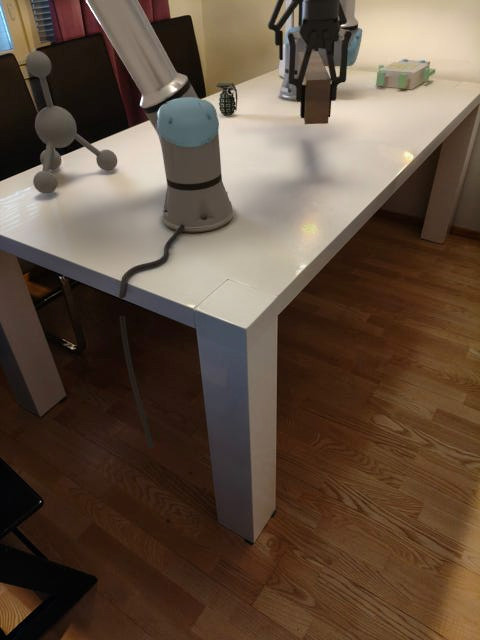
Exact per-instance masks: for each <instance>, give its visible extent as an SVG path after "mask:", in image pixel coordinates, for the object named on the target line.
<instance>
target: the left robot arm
mask: <svg viewBox="0 0 480 640" xmlns="http://www.w3.org/2000/svg"><path fill="white" fill-rule="evenodd" d="M85 2H86V4H87V5H88V6H89V8H90V10H91V12H92V13H93V15H94V17H95V18H96V21H98V23H99V25H100V26H101V29H102V30H103V31H104V34H105V35H106V37H107V38H108V40H109V42H110V43H111V45H112V47H113V48H114V50H115V51H116V54H117V55H118V57H119V58H120V60H121V61H122V63H123V65H124V66H125V68H126V70H127V72H128V74H129V75H130V76H131V79H132V81H134V84H135V85H136V87H137V88H138V90H139V91H140V93H141V99H140V103H139V106H140V107H141V109H142V111H143V112H144V114H145V115H146V117H147V119H148V120H149V122H150V124H151V125H152V127H153V128H154V130H155V132H156V134H157V136H158V139H159V143H160V148H161V153H162V159H163V168H164V173H165V180H166V190H165V191H166V192H165V196H164V203H163V207H162V218H163V222H164V224H165V226H167V227H168V228H169V229H171V230H173V231H174V232H173V234H171V237H170V238H169V239H168V240H167V241H166V243H165V245H164V246H163V255H162V256H161V257H160V258H159V259H156V260H152V261H149V262H145V263H141V264H138V265H135V266H133V267H131V268H129V269H128V270H127V271H126V272H124V274H123V275H122V277H121V281H120V288H119V293H118V294H119V295H118V297H119V299H124V298H125V297H126V290H127V282H128V278H129V277H130V276H132V275H133V274H135V273H137V272H138V271H139V272H140V271H141V270H146V269H150V268H154V267H157V266H160V265H162V264H163V263H165V261H167V259H168V258H169V256H170V255H169V254H170V247H171V246H172V244H173V243H174V242H175V240H176V239H177V238H178V236H180V234H181V233H190V234H191V233H192V234H193V233H194V234H195V233H196V234H197V233H205V232H206V233H207V232H210V231H215V230H216V229H220V228H222V227H224V226H226V225H227V224H228V223H230V221H231V220H232V218H233V216H234V212H233V211H234V210H233V205H232V201H231V200H230V197H229V194H228V192H229V191H227V190H226V187H225V184H224V182H223V175H222V174H223V173H222V164H221V163H222V161H221V147H220V146H221V145H220V134H219V128H220V122H219V118H218V114H217V109H216V107H215V105H214V104H213V103H211V102H210V101H208V100H207V99H202V98H201V97H200V98H199V97H198V95H197V93H196V91H195V89H194V87H193V85H192V83H191V82H190V80H189V78H188V76H187V75H185V74H182V73H180V72H177V70H176V69H175V67H174V65H173V63H172V61H171V60H170V57H169V56H168V54H167V52H166V50H165V48H164V46H163V45H162V42H161V41H160V39H159V37H158V35H157V34H156V32H155V29H154V28H153V25H151V22H150V20H149V18H148V16H147V14H146V13H145V11H144V9H143V7H142V5H141V4H140V2H139V0H85ZM338 13H339V0H303V1H302V23H301V26H300V28H299V30H297V31H294V32H289V33H288V35H287V36H288V40H289V44H290V51H289V74H288V81H289V84H292V85H295V86H296V101H295V102H297V103H300V102H301V104H300V105H299V106H300V109H299V116H300V119H304V107H305V85H302V83H303V80H304V76H305V73H306V69H307V66H308V62H309V59H310V55H311V53H312V49H317V48H321V49H325V52H326V57H327V62H328V66H327V68H328V74H329V77H330V79H331V86H330V102H329V117H328V118H331V113H332V102H335V101H336V100H337V94H338V86H339V85H340V84H343V83H346V81H347V73H348V71H347V70H348V66H347V56H348V43H349V41H350V38H351V35H352V33H351V32H350V30H344V29H341V28H340V26H339V23H338ZM338 34H339V35H340V40H341V54H340V66H339V73H338V74H339V75H338V76H337V71H336V66H335V65H334V59H333V54H332V47H331V43H332V42H333V40H334V39H335V37H336V36H337V35H338ZM300 35H301V37H302V38H303V40H304V41H305V43H306V47H305V52H304V55H303V59H302V63H301V66H300V70H299V73H298V77H297V78H294V74H295V54H296V44H295V43H297V42H298V37H299V36H300ZM118 317H119V326H120V333H121V334H120V335H121V340H122V346H123V352H124V359H125V363H126V367H127V371H128V375H129V379H130V384H131V386H132V392H133V395H134V398H135V402H136V405H137V408H138V409H137V410H138V413H139V417H140V419H141V423H142V428H143V431H144V434H145V438H146V442H147V447H148V449H149V450H152V449H153V448H154V445H153V440H152V436H151V432H150V428H149V425H148V421H147V420H148V419H147V417H146V414H145V409H144V406H143V402H142V399H141V395H140V391H139V387H138V383H137V379H136V375H135V371H134V367H133V361H132V356H131V352H130V351H131V350H130V345H129V340H128V331H127V323H126V316H124V315H122V314H119V315H118Z"/></svg>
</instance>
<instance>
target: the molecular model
mask: <svg viewBox="0 0 480 640" xmlns="http://www.w3.org/2000/svg"><path fill="white" fill-rule="evenodd" d="M25 66H26V69H27V70H28V72H29V73H30V74H31V75H32V76H33V77H35V78H39V83H40V87H41V89H42V93H43V97H44V100H45V105H46V107H44V108H42V109H40V111H39V112H38V113H37V114H36V117H35V121H34V129H35V132H36V134H37V136H38V138H39V139H40V140H41V141H42V143H43V144H45V149H44V150H43V151H42V152H41V153H40V156H39V160H40V164H41V165H42V170H40V171H38V172H37V173H35V175H34V176H33V180H32V181H33V182H32V183H33V186H34V188H35V190H36V191H37V192H39V193H41V194H43V195H50V194H52V193H54V192H55V191H56V189H57V187H58V180H57V177H56V176H55V175H54V173H52V172H50V171H55V170H57V169H59V168H60V167H61V165H62V156H61V154H60V153H59V152H58V151H57V150H55V149H62V148H63V149H64V148H67V147H68V146H70V145H71V144H72V143H73V142H74V140H75V141H77V143H79V144H80V145H82V146H83V147H84V148H86V150H88V151H89V152H91V153H92V154H93V155H94V156H96V158H95V159H96V164H97V166H98V167H99V168H100V169H101V170H102V171H105V172H110V171H113V170H114V169H116V167H117V166H118V156H117V154H115V152H114V151H112V150H110V149H106V148H105V149H101V150H99V149H98V148H97V147H95V146H94V145H93V144H91V143H90V142H89V141H87V139H85V138H83V136H81V135H79V133H77V130H78V128H77V127H78V126H77V123H76V119H75V118H74V117H73V115H72V114H71V112H69V111H68V110H67V109H65V108H63V107H61V106H57V105H54V102H53V99H52V96H51V92H50V87H49V84H48V81H47V77H48V76H49V74H50V73H51V71H52V62H51V60H50V57H48V55H47V54H45V53H44V52H43V51H40V50H34V51H31V52H29V53H28V54H27V56H26V57H25Z"/></svg>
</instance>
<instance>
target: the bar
mask: <svg viewBox="0 0 480 640" xmlns="http://www.w3.org/2000/svg"><path fill="white" fill-rule="evenodd" d="M303 55H304V52H298V73H299V70H300V66H301V63H302V59H303ZM302 85H305V107H304V118H303V122H304V125H326V124H329V118H330V117H329V102H330V86H331V78H330V73H329V71H328V70H327V68H326V66H324V64H323V62H322V59H321V57H320V55H319V53H318V51H312V53H311V55H310V59H309V62H308V66H307V69H306V73H305V76H304V80H303V83H302ZM299 103H300V105H301V102H299Z"/></svg>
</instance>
